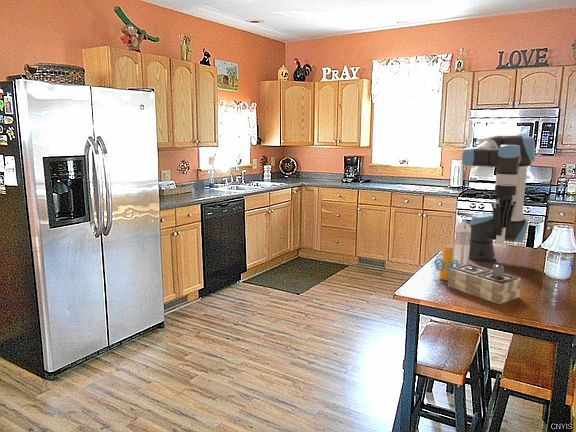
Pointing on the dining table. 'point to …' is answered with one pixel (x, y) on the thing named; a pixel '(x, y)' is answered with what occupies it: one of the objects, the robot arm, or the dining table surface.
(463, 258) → the water bottle
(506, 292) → the socket block
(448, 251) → the ringed orange tube
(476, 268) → the peg
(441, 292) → the dining table surface
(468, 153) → the robot arm
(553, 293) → the dining table surface
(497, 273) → the peg
